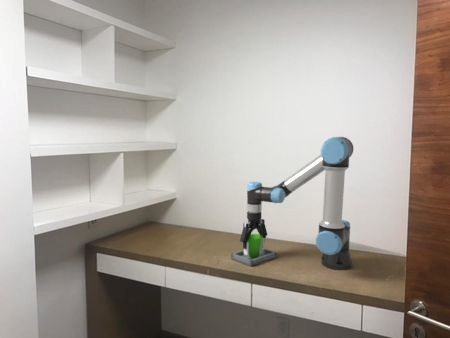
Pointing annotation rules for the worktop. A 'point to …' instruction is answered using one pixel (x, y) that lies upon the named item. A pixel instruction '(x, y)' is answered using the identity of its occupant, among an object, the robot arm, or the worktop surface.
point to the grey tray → (245, 259)
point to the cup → (254, 245)
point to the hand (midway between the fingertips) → (253, 251)
